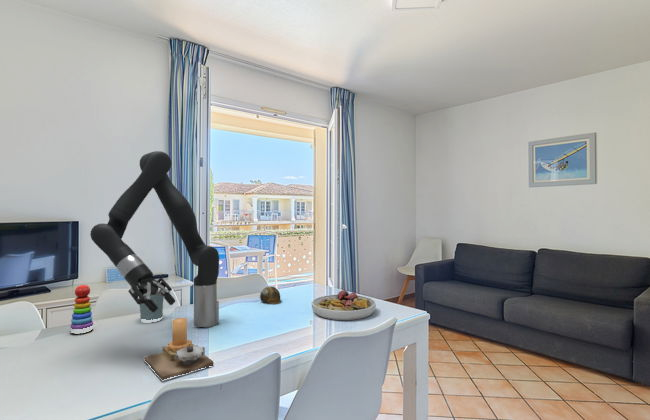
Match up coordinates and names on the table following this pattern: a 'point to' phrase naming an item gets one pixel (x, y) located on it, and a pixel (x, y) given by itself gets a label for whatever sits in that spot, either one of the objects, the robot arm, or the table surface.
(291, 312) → the table surface
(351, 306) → the bowl
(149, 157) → the robot arm
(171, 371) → the gear board
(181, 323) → the orange gear spindle
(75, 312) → the stacking toy
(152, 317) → the grey cup
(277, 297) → the seashell
